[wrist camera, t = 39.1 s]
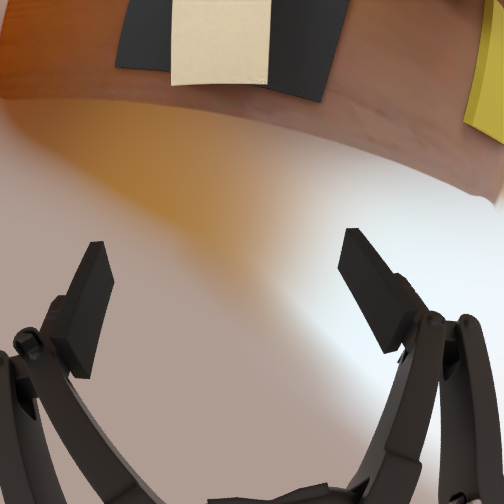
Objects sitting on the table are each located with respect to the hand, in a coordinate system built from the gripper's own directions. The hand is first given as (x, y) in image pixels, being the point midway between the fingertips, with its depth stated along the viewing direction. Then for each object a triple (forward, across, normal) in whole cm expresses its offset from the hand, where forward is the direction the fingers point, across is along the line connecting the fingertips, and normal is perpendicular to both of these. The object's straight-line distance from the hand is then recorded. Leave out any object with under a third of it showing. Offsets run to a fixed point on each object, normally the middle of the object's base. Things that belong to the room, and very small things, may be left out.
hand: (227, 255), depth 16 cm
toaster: (+19, 0, +8) cm, 21 cm away
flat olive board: (+23, +45, +18) cm, 53 cm away
